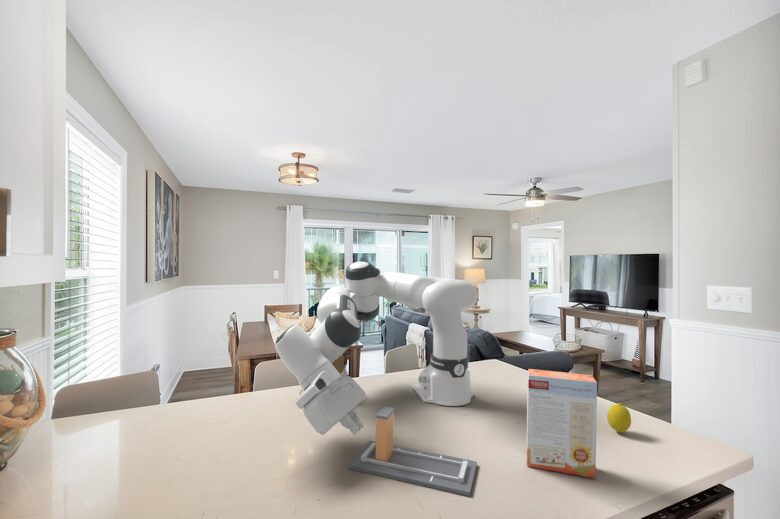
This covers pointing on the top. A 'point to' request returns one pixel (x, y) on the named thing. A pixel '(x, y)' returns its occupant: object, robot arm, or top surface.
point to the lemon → (619, 417)
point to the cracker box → (562, 422)
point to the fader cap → (384, 433)
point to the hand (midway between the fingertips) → (359, 430)
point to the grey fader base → (419, 468)
